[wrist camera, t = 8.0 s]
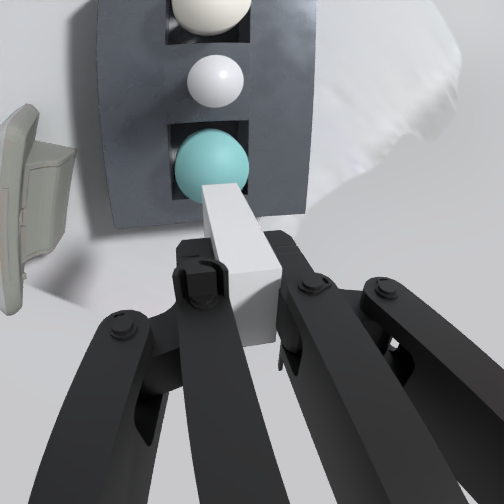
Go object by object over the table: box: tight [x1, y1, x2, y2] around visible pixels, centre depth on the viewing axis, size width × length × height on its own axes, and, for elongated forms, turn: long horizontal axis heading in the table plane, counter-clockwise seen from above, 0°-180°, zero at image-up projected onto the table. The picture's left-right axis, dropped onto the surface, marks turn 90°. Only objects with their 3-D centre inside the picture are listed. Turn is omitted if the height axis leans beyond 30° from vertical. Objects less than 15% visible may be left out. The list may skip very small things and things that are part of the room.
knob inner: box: [172, 0, 251, 36], centre depth 18 cm, size 5×5×7 cm
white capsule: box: [187, 55, 244, 108], centre depth 17 cm, size 3×3×6 cm
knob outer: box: [175, 129, 249, 204], centre depth 24 cm, size 5×5×7 cm
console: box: [97, 0, 316, 229], centre depth 22 cm, size 16×22×5 cm
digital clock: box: [0, 104, 76, 315], centre depth 21 cm, size 16×9×11 cm, turn 148°
